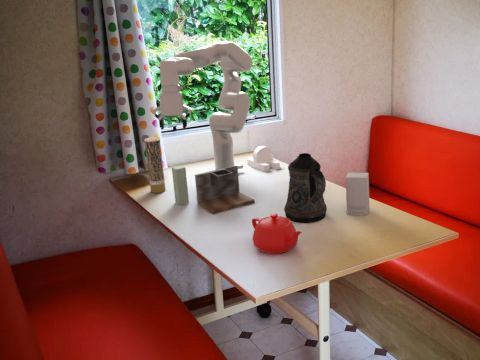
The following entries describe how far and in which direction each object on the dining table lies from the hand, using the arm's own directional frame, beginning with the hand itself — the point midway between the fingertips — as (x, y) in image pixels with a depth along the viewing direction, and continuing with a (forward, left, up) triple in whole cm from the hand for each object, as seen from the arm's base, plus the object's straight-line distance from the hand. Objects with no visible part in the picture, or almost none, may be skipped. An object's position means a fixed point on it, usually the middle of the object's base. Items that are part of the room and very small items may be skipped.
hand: (173, 128), depth 242 cm
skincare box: (-45, +67, -31) cm, 86 cm away
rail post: (+4, +10, -31) cm, 32 cm away
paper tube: (+6, -12, -31) cm, 34 cm away
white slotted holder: (-52, -12, -31) cm, 62 cm away
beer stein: (-28, +58, -31) cm, 71 cm away
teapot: (-2, +74, -31) cm, 80 cm away
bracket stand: (-10, +24, -31) cm, 40 cm away
